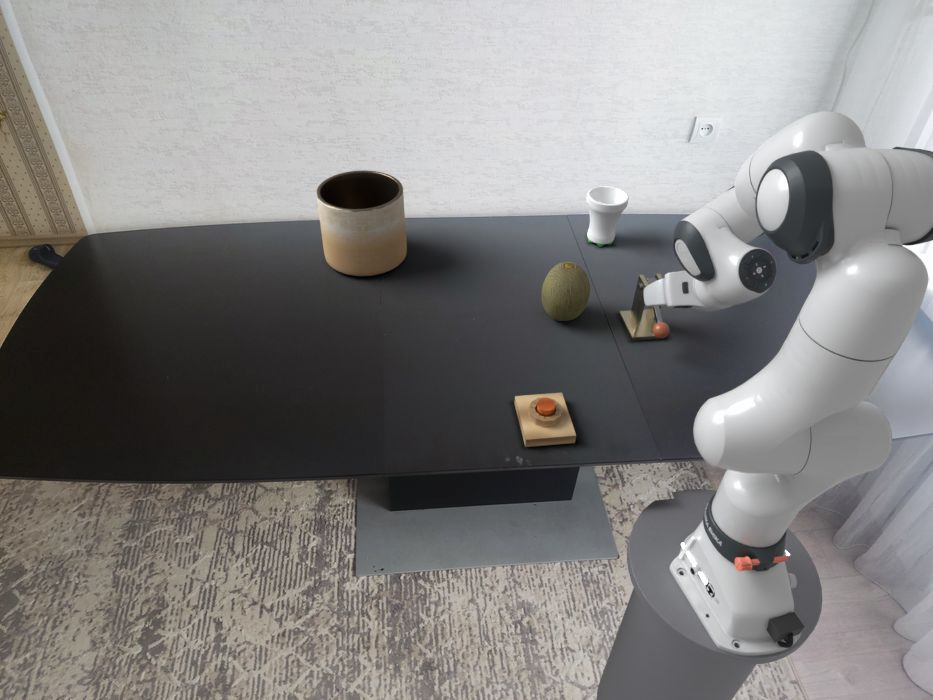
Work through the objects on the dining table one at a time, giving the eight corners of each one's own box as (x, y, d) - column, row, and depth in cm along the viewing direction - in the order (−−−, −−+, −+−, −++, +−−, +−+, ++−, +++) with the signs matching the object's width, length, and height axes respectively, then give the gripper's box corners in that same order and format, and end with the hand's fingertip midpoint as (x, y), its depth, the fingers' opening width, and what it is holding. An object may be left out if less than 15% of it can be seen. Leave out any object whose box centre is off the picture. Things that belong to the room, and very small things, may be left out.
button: (556, 416, 130) (557, 410, 129) (538, 417, 130) (539, 411, 129) (552, 403, 133) (553, 397, 132) (534, 404, 133) (535, 398, 131)
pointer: (667, 340, 147) (673, 333, 144) (652, 341, 147) (657, 335, 144) (654, 283, 152) (660, 276, 149) (639, 284, 152) (644, 277, 149)
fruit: (553, 296, 166) (559, 246, 157) (593, 312, 162) (602, 261, 152) (530, 319, 159) (535, 267, 149) (571, 336, 155) (580, 284, 145)
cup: (573, 234, 189) (579, 189, 180) (606, 227, 193) (615, 182, 183) (592, 254, 182) (600, 208, 172) (627, 246, 185) (636, 201, 175)
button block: (574, 442, 130) (577, 429, 127) (525, 447, 129) (526, 433, 126) (560, 399, 139) (563, 386, 136) (514, 403, 138) (515, 389, 135)
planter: (324, 283, 169) (314, 213, 156) (325, 238, 185) (316, 171, 172) (410, 276, 172) (407, 208, 159) (403, 233, 188) (400, 167, 175)
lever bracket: (664, 338, 155) (677, 291, 146) (631, 341, 154) (643, 293, 145) (650, 312, 162) (662, 266, 153) (618, 314, 161) (628, 268, 152)
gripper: (764, 267, 123) (727, 281, 137) (659, 273, 121) (632, 286, 134) (767, 301, 122) (730, 311, 136) (662, 307, 120) (635, 316, 134)
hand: (681, 299), depth 135 cm, fingers closed
